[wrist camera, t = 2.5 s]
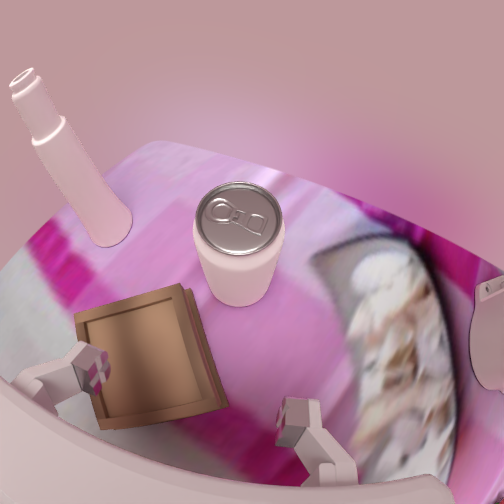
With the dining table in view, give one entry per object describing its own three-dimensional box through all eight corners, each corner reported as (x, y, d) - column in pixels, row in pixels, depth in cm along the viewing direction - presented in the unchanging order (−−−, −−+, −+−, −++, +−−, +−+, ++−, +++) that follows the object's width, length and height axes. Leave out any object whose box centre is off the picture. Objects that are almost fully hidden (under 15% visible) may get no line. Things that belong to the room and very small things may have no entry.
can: (222, 240, 30) (214, 166, 19) (278, 261, 29) (300, 194, 19) (197, 293, 28) (171, 239, 17) (256, 317, 27) (269, 277, 16)
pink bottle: (127, 248, 29) (25, 87, 9) (85, 247, 29) (-24, 114, 9) (137, 203, 32) (69, 44, 12) (96, 206, 32) (17, 68, 12)
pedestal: (192, 291, 28) (183, 276, 23) (229, 405, 23) (227, 412, 19) (91, 320, 26) (69, 309, 21) (118, 428, 21) (97, 435, 17)
